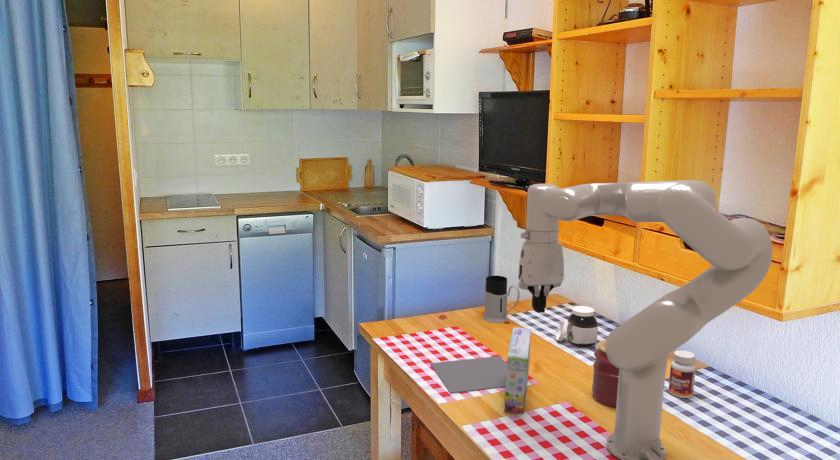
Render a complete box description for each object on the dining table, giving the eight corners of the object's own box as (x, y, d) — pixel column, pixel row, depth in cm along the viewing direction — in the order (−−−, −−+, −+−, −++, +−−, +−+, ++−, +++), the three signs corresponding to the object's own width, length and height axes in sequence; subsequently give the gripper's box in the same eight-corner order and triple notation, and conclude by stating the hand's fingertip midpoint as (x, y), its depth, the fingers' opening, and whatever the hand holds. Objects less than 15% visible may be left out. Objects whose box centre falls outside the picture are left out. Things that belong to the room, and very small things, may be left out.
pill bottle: (667, 396, 169) (671, 356, 166) (669, 386, 174) (672, 348, 172) (692, 400, 166) (696, 360, 164) (693, 391, 172) (697, 351, 170)
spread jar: (600, 348, 202) (602, 313, 199) (568, 351, 199) (570, 316, 196) (580, 334, 213) (582, 301, 211) (550, 338, 210) (551, 304, 207)
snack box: (525, 414, 158) (528, 358, 155) (503, 412, 159) (505, 356, 156) (529, 377, 179) (531, 327, 175) (508, 375, 180) (511, 325, 176)
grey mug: (493, 312, 235) (494, 273, 232) (525, 322, 225) (526, 281, 222) (478, 318, 228) (479, 278, 225) (510, 328, 219) (512, 286, 216)
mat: (526, 384, 175) (526, 383, 175) (450, 393, 170) (450, 392, 170) (499, 357, 194) (499, 356, 194) (430, 364, 189) (430, 363, 189)
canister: (586, 386, 174) (589, 325, 171) (633, 387, 174) (638, 325, 171) (598, 409, 161) (603, 343, 158) (650, 409, 161) (655, 344, 158)
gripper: (518, 241, 144) (516, 318, 148) (578, 238, 148) (574, 313, 152) (506, 234, 151) (503, 308, 155) (563, 232, 155) (559, 303, 159)
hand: (538, 310), depth 153 cm, fingers closed
